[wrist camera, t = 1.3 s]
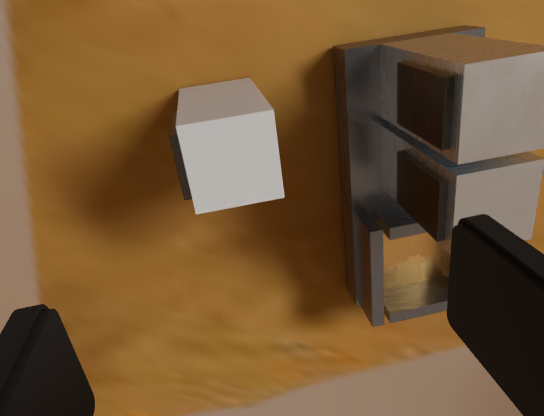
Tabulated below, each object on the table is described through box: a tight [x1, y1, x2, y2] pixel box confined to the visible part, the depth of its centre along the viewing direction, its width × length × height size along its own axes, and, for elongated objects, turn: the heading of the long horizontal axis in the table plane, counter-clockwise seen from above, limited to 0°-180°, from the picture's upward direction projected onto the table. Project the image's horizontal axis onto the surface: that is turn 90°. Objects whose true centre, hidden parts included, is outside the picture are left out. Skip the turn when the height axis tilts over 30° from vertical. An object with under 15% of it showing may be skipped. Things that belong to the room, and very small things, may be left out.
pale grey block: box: [169, 78, 285, 214], centre depth 22 cm, size 4×4×8 cm
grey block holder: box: [333, 25, 544, 327], centre depth 25 cm, size 17×8×10 cm, turn 7°
